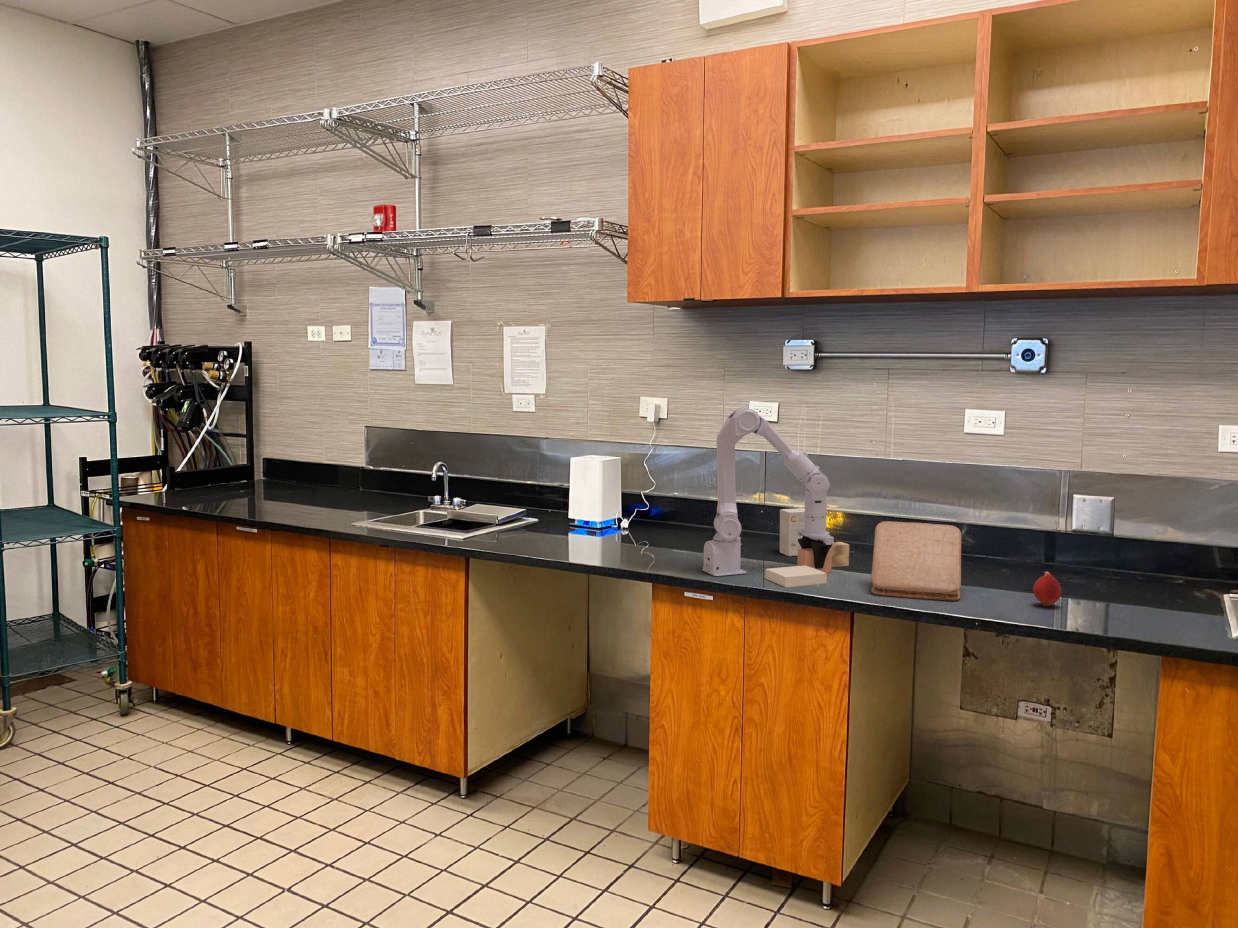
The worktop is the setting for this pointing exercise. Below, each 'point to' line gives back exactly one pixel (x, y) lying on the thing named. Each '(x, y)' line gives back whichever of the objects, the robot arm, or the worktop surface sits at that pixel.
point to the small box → (790, 530)
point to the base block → (796, 576)
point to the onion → (1047, 589)
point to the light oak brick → (840, 554)
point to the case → (917, 561)
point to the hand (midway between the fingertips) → (814, 566)
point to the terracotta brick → (808, 559)
